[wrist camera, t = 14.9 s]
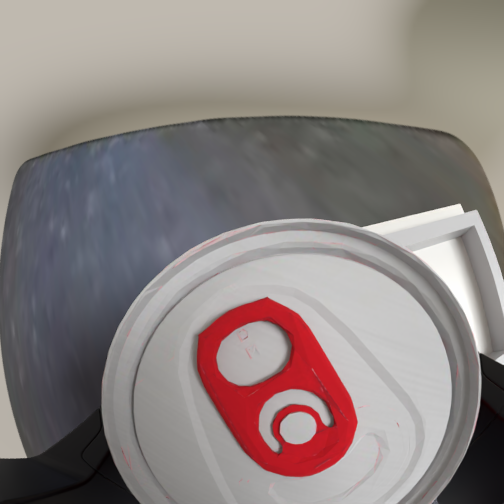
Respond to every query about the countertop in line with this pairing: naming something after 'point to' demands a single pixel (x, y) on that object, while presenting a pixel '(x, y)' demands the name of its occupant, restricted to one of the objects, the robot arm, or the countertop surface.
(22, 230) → the countertop surface
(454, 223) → the socket board
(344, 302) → the beverage can
